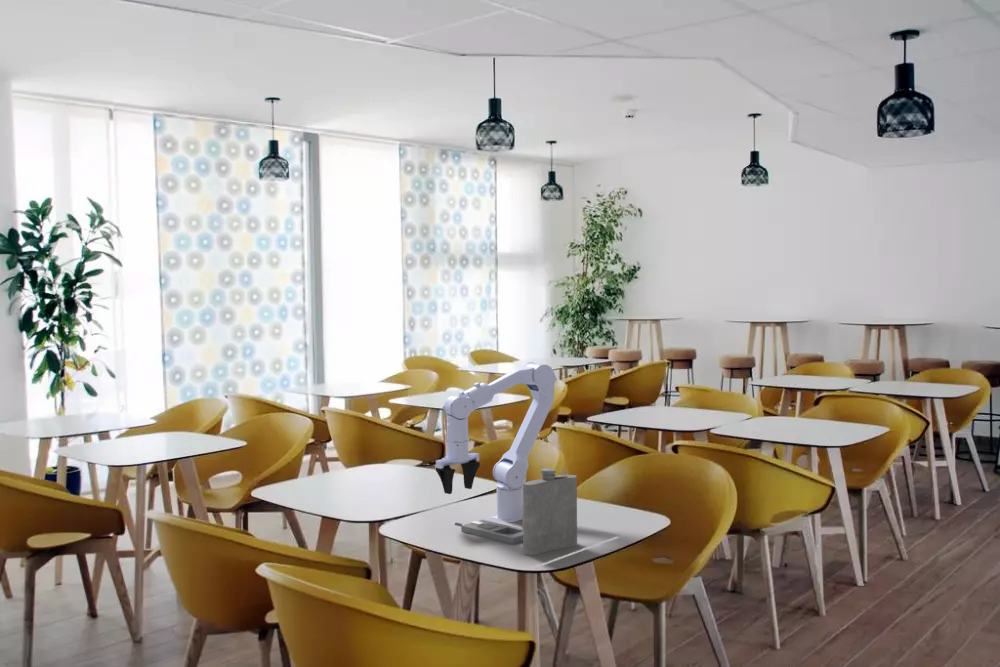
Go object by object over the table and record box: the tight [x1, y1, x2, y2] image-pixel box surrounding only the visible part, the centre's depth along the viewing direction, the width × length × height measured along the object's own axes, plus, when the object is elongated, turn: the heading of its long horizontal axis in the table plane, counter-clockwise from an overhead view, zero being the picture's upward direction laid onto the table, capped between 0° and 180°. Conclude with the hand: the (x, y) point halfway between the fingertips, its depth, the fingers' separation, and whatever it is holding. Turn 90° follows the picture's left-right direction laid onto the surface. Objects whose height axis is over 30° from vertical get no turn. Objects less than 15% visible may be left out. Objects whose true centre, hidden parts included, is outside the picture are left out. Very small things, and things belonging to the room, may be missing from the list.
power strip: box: [454, 519, 523, 545], centre depth 232 cm, size 8×24×2 cm, turn 47°
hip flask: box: [522, 467, 578, 557], centre depth 217 cm, size 16×4×20 cm, turn 126°
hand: (458, 490), depth 241 cm, fingers open, 7 cm apart
